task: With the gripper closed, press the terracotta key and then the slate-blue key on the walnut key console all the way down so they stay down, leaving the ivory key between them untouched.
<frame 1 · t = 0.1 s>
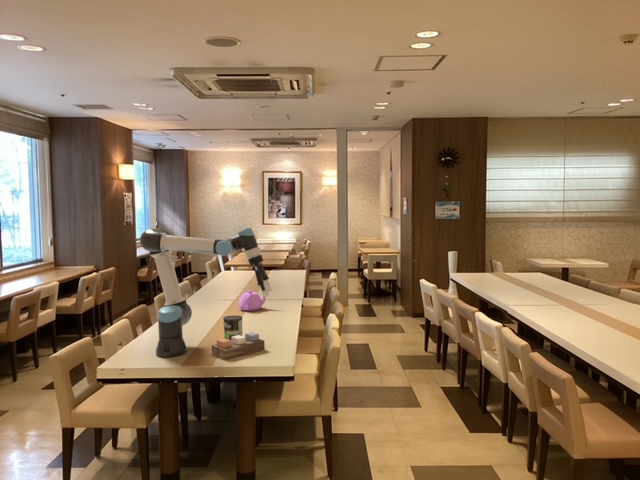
hand: (268, 293, 268), 28 cm above the table, tool tilted 20°, fingers open, 13 cm apart
teapot: (253, 309, 360), on the table
slate key: (252, 336, 262), point 6 cm above the table, slide at 0.0 cm
terracotta key: (224, 343, 251), point 6 cm above the table, slide at 0.0 cm
ivory key: (238, 339, 257), point 6 cm above the table, slide at 0.0 cm
coffee can: (233, 343, 275), on the table
key console: (238, 352, 257), on the table
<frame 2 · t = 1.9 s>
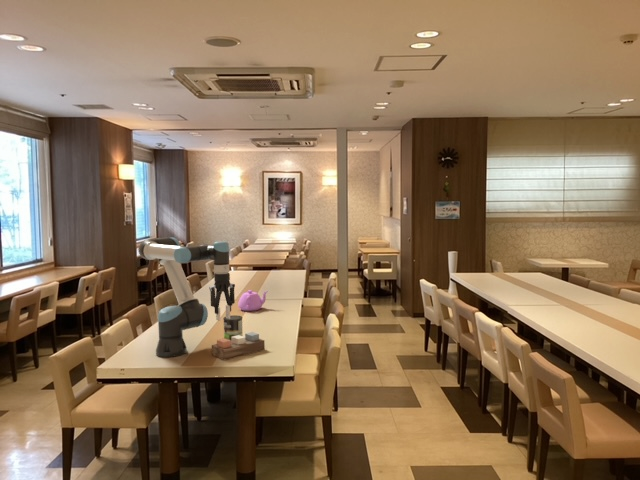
hand: (223, 319, 250), 19 cm above the table, tool pointing down, fingers open, 5 cm apart
nothing on the table moved.
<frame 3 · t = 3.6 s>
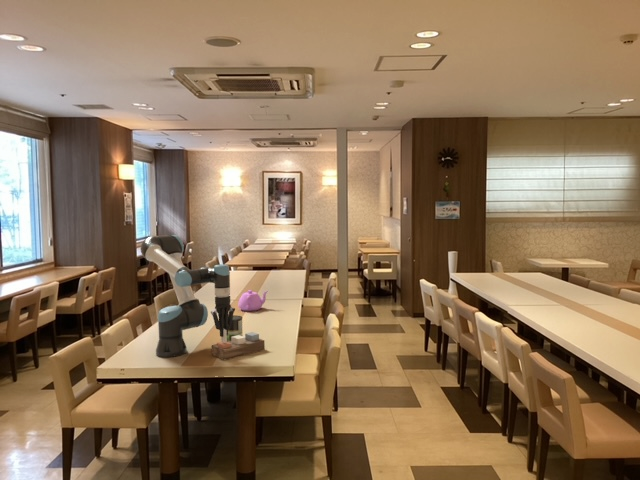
hand: (224, 342, 251), 7 cm above the table, tool pointing down, fingers closed
terracotta key: (224, 345, 251), point 5 cm above the table, slide at 1.4 cm, touching gripper
everything else where it was.
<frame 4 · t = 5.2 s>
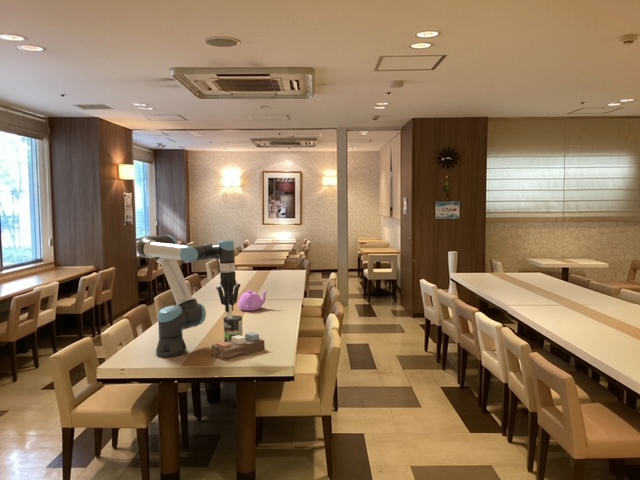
hand: (229, 318, 252), 19 cm above the table, tool pointing down, fingers closed
terracotta key: (224, 346, 251), point 5 cm above the table, slide at 1.8 cm
everything else where it was.
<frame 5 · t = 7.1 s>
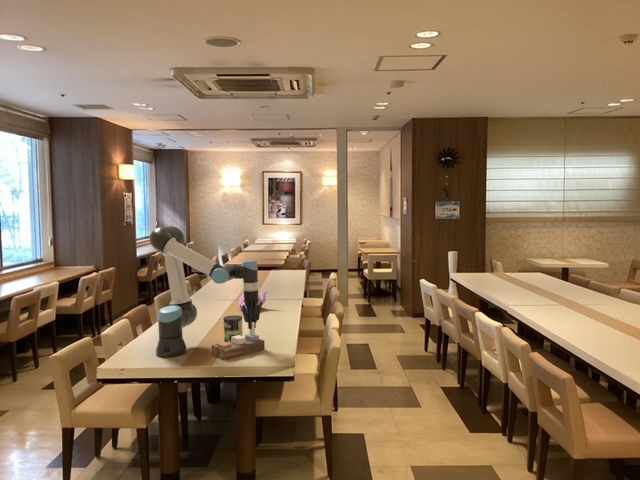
hand: (252, 334, 262), 8 cm above the table, tool pointing down, fingers closed
slate key: (252, 338, 262), point 6 cm above the table, slide at 0.7 cm, touching gripper
everything else where it was.
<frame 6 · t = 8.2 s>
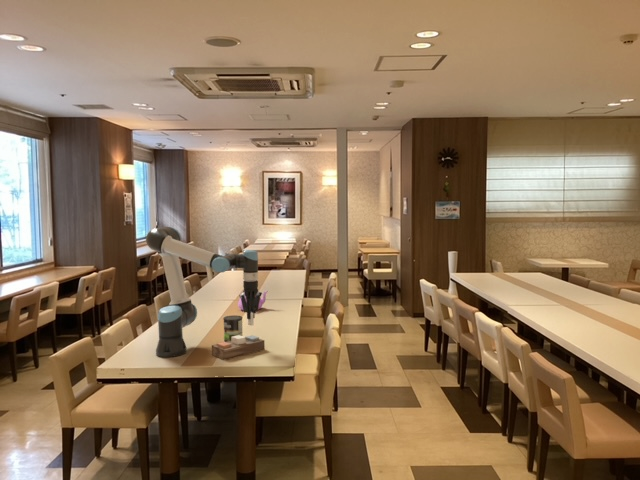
hand: (250, 324, 262), 13 cm above the table, tool pointing down, fingers closed
slate key: (252, 339, 262), point 5 cm above the table, slide at 1.8 cm
everything else where it was.
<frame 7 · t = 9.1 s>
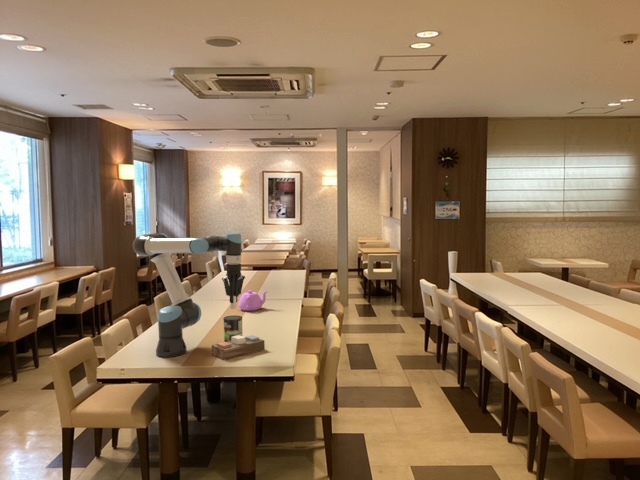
hand: (233, 308, 258), 22 cm above the table, tool pointing down, fingers closed
nothing on the table moved.
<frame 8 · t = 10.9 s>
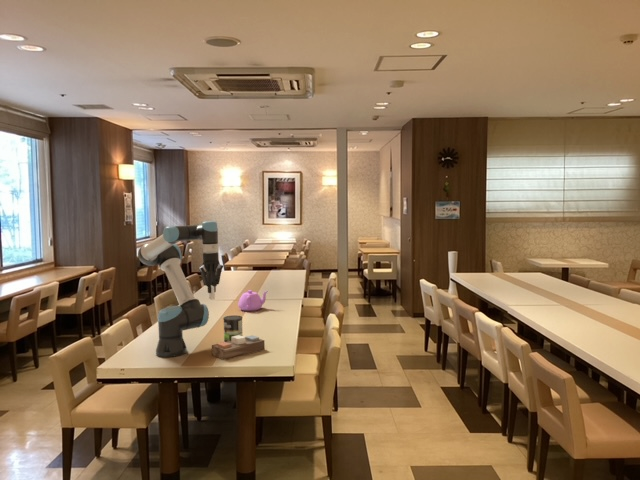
hand: (212, 299, 252), 28 cm above the table, tool pointing down, fingers closed
nothing on the table moved.
at the end: terracotta key slide at 1.8 cm; slate key slide at 1.8 cm; ivory key slide at 0.0 cm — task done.
